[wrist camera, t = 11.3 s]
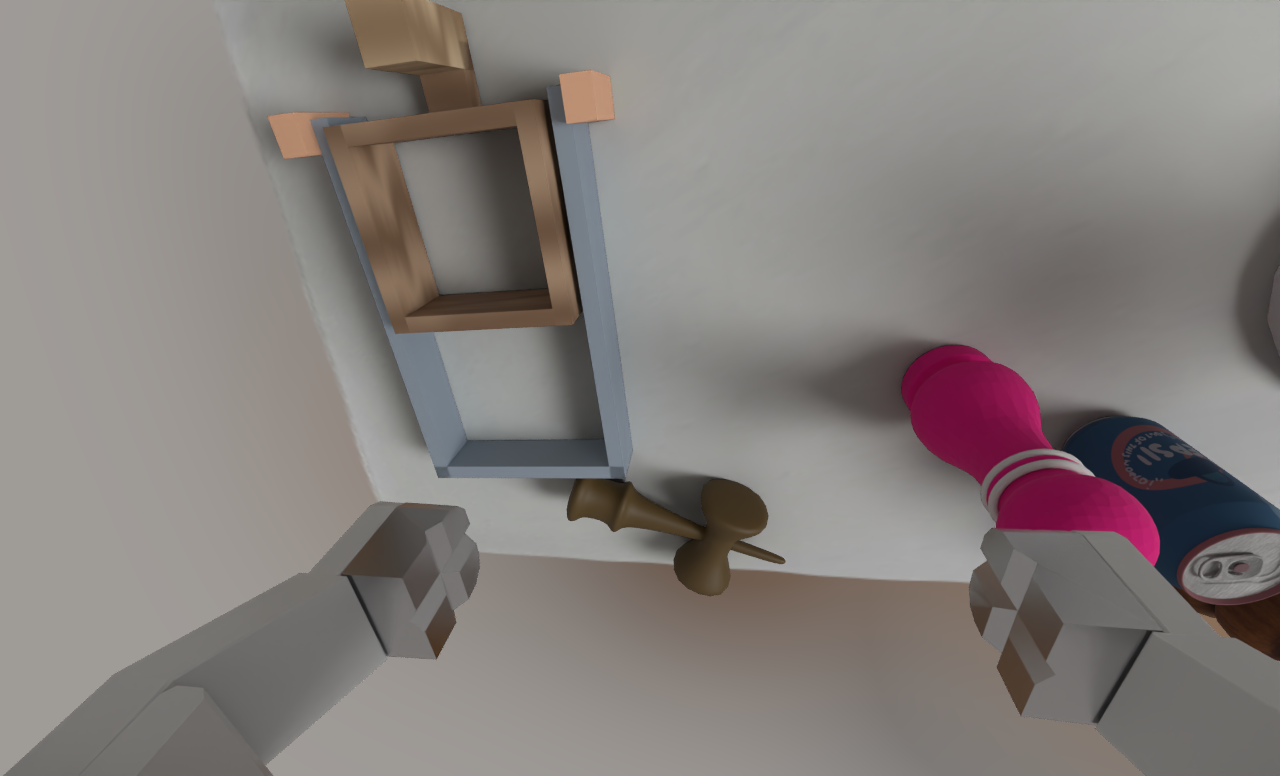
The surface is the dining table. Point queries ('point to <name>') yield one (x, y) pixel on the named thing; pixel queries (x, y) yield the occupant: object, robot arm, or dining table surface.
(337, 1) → the dining table surface
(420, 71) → the wooden square frame
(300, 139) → the frame
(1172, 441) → the soda can
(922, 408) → the pepper mill
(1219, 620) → the wooden figurine
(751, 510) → the kendama
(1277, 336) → the gramophone
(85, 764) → the robot arm
